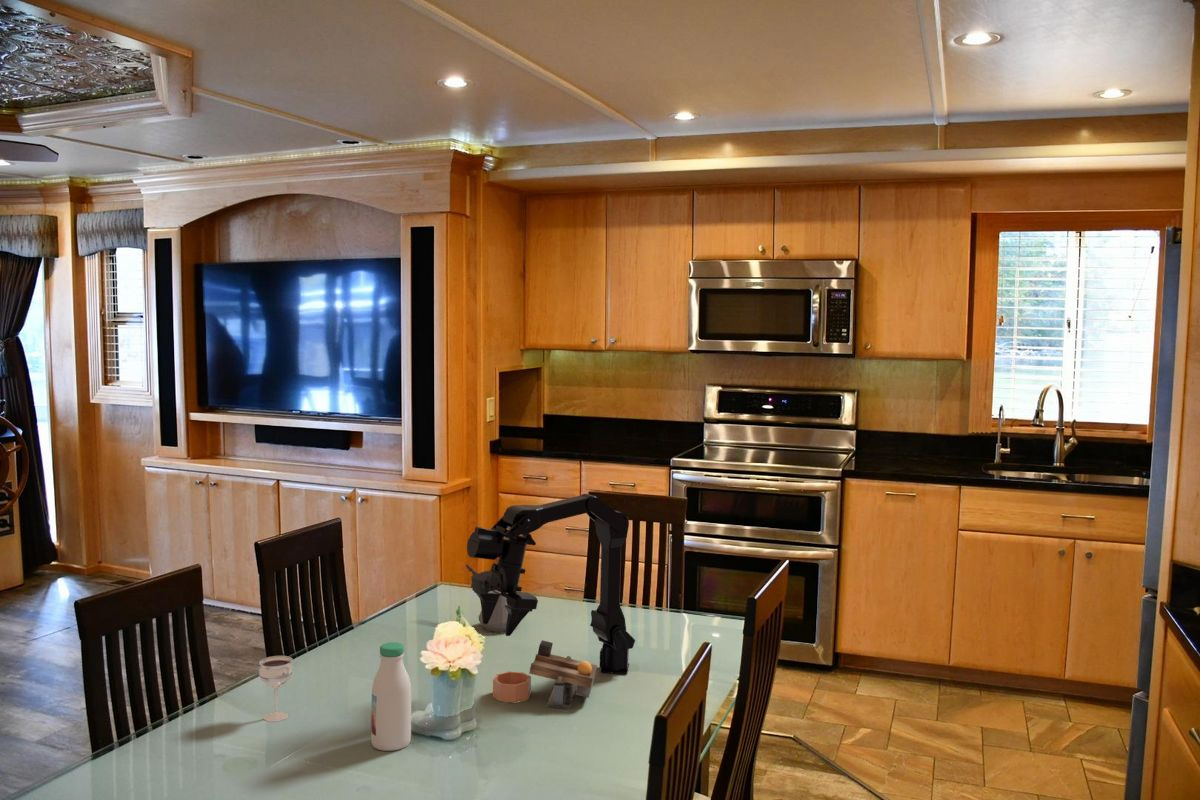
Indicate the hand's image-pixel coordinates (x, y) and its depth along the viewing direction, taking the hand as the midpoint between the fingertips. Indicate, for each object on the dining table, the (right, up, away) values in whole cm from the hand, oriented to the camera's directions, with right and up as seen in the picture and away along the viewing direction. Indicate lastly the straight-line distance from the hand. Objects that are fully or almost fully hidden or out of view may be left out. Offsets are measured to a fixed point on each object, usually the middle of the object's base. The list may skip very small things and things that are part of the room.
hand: (496, 629), depth 207 cm
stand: (+15, -15, +1) cm, 22 cm away
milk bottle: (-18, -17, -25) cm, 35 cm away
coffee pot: (-8, -11, +51) cm, 53 cm away
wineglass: (-45, -15, -14) cm, 49 cm away
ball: (+20, -8, -2) cm, 22 cm away
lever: (+15, -12, +1) cm, 19 cm away
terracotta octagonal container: (+4, -15, 0) cm, 15 cm away
